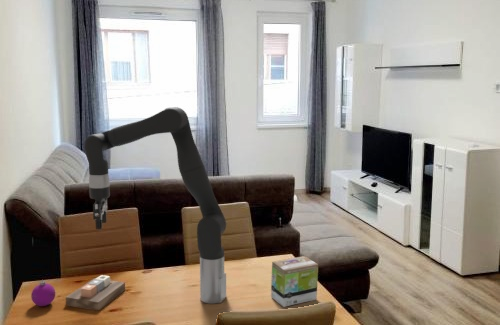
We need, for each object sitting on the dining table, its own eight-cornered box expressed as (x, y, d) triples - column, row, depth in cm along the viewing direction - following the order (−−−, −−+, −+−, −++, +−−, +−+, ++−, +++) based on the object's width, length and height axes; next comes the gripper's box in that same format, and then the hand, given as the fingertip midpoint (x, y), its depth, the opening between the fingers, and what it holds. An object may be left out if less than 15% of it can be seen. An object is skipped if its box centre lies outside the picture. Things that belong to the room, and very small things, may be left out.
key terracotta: (97, 293, 178) (96, 285, 177) (90, 298, 174) (90, 289, 173) (87, 292, 179) (87, 283, 178) (81, 296, 175) (80, 288, 174)
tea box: (284, 308, 173) (284, 270, 170) (270, 297, 182) (270, 261, 179) (317, 299, 180) (318, 263, 177) (303, 289, 188) (303, 254, 186)
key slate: (103, 288, 182) (103, 280, 181) (97, 292, 178) (97, 284, 178) (94, 287, 183) (94, 279, 182) (88, 291, 179) (88, 283, 179)
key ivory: (110, 283, 186) (110, 275, 186) (104, 288, 182) (104, 279, 182) (101, 282, 187) (101, 274, 187) (95, 286, 183) (95, 278, 183)
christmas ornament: (34, 301, 178) (32, 276, 176) (57, 298, 180) (55, 274, 178) (30, 311, 170) (28, 285, 168) (54, 308, 172) (52, 282, 170)
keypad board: (125, 289, 188) (124, 282, 187) (98, 310, 171) (98, 302, 170) (94, 285, 192) (94, 278, 191) (66, 305, 174) (65, 297, 174)
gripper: (105, 189, 175) (107, 231, 177) (112, 181, 189) (114, 220, 191) (84, 189, 174) (87, 231, 177) (93, 181, 188) (95, 220, 191)
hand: (101, 225), depth 184 cm, fingers open, 8 cm apart
